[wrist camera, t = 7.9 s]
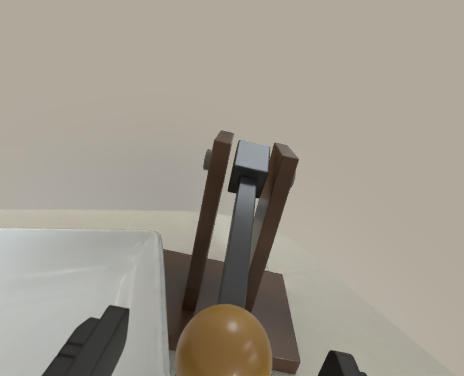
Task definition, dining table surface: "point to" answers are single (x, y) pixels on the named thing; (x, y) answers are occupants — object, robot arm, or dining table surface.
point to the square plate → (80, 295)
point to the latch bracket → (259, 281)
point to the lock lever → (232, 290)
